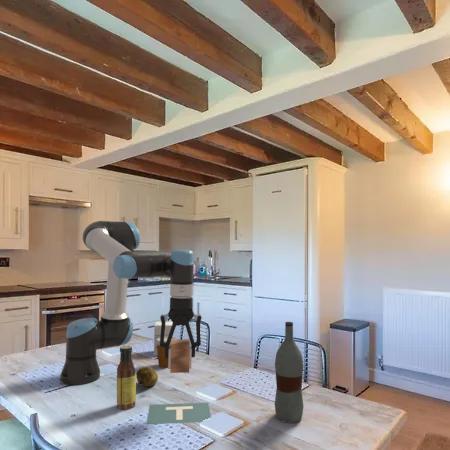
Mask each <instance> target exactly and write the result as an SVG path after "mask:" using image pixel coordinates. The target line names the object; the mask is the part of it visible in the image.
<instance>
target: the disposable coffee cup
mask: <svg viewBox="0 0 450 450" xmlns="http://www.w3.org/2000/svg"><path fill="white" fill-rule="evenodd" d="M167 338H168V337H164V342H166V341H167ZM171 340H176V337H173V336H172V339H171ZM156 345H157V353H158V356H157V362H158V367H160V368H162V369H163V368H164V369H168V358H165V348H164V347H161V346H160V338H157V340H156ZM169 346H171V342H170V345H169Z"/></svg>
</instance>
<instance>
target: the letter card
mask: <svg viewBox="0 0 450 450" xmlns="http://www.w3.org/2000/svg"><path fill="white" fill-rule="evenodd" d="M210 417H211V418H212V415H211V409H210V404H209V402H192V403H191V402H190V403H189V402H187V403H186V402H185V403H164V404H163V403H159V404H149V408H148V413H147V419H146V425H163V424H164V425H165V424H166V425H167V424H183V423H184V424H185V423H187V424H189V423H203V422H202V421H203V420H205V419H208V418H210Z"/></svg>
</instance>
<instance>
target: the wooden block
mask: <svg viewBox="0 0 450 450" xmlns="http://www.w3.org/2000/svg"><path fill="white" fill-rule="evenodd" d="M190 346H191V343H190V339H189V338H188V339H185V338H184V339H179V338H177V339H176V340H171V366H170V369H169V370H170V371H169V373H170V374H177V373H178V374H182V373H185V374H186V373H190V369H189V358H190Z"/></svg>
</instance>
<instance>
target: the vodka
mask: <svg viewBox="0 0 450 450" xmlns="http://www.w3.org/2000/svg"><path fill="white" fill-rule="evenodd" d="M284 324H285V326H284V327H285V328H284V329H285V330H284V331H285V332H284V333H285V334H284V336H285V337H284V340H283V342H282V343H281V345H280V346H279V348H278V349H277V351H276V354H275V360H274V361H275V362H274V368H275V382H276V388H275V389H276V390H275V398H274V409H275V410H274V411H275V415H276V418H277V419H278V420H279V419H280V420H279V421H281V420H282V421H281V422H283V421H285V423H288V422H295V423H298V422H300V421H301V420H302V419H303V413H304V399H303V391H302V389H303V388H302V386H303V375H304V374H303V372H304V360H303V354H302V351H301V350H300V349H299V347H298V345H297V344H296V341H295V340H294V323H293V321H285V323H284ZM297 421H298V422H297Z"/></svg>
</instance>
